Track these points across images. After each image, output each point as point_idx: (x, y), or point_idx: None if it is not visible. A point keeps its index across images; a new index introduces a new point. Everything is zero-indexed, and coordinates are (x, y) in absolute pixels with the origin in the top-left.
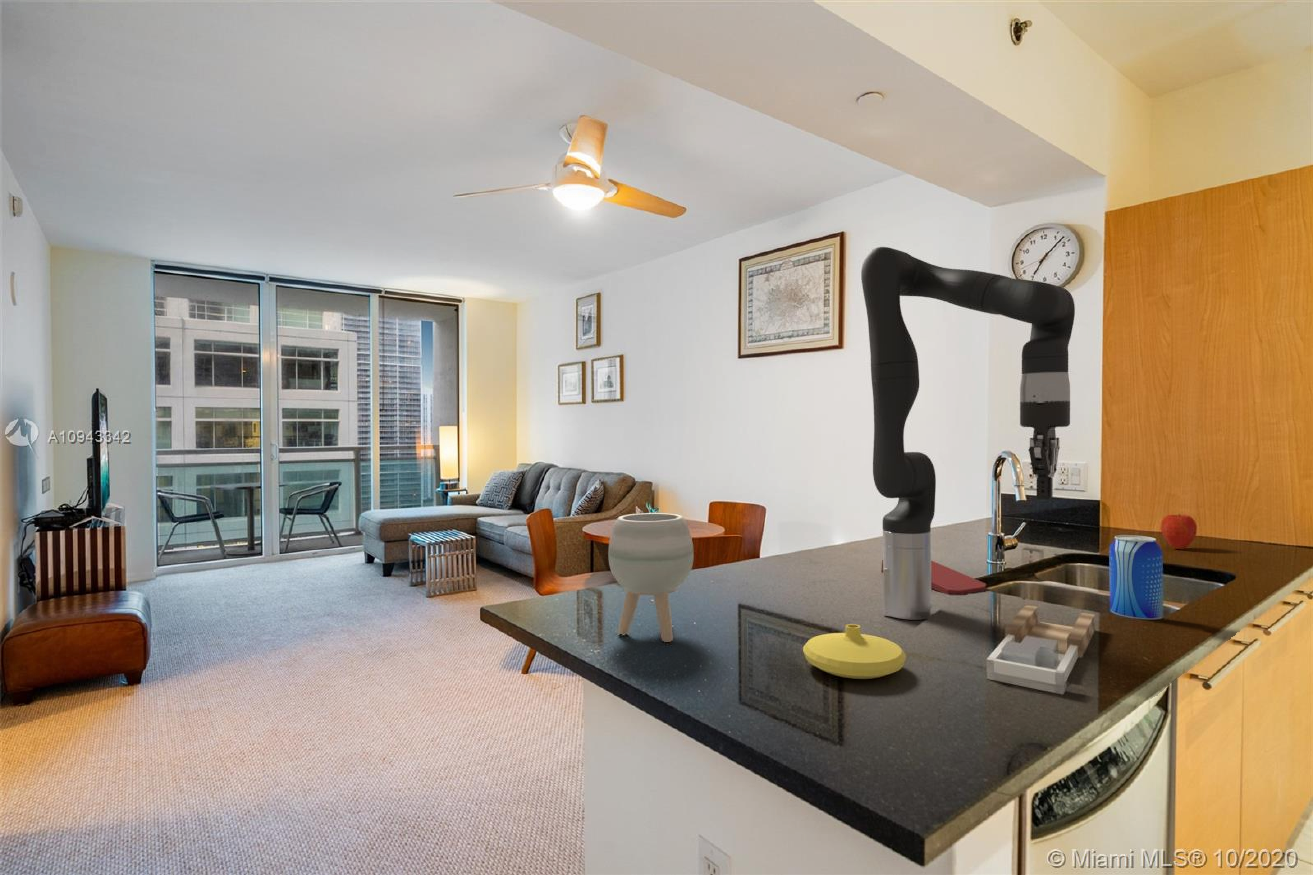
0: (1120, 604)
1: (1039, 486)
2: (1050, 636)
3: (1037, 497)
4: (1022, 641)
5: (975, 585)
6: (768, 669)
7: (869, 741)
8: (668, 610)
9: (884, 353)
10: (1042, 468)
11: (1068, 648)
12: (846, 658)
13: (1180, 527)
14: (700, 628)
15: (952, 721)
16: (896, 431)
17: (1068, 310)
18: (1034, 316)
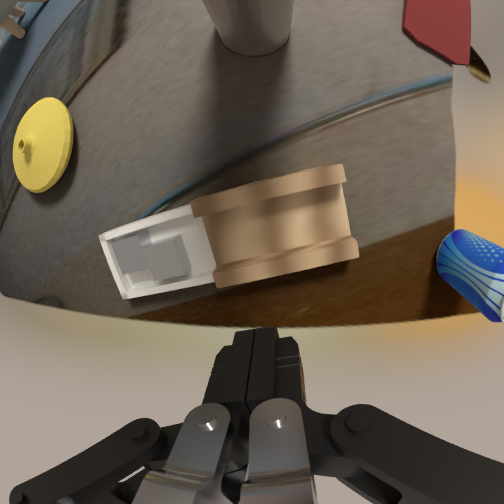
0: (447, 252)
1: (210, 382)
2: (278, 221)
3: (236, 333)
4: (148, 247)
5: (452, 53)
6: (19, 113)
7: (7, 239)
8: (9, 28)
9: None
10: (149, 471)
11: (197, 277)
12: (16, 169)
13: None
14: (57, 6)
15: (43, 256)
16: None
17: None
18: None
